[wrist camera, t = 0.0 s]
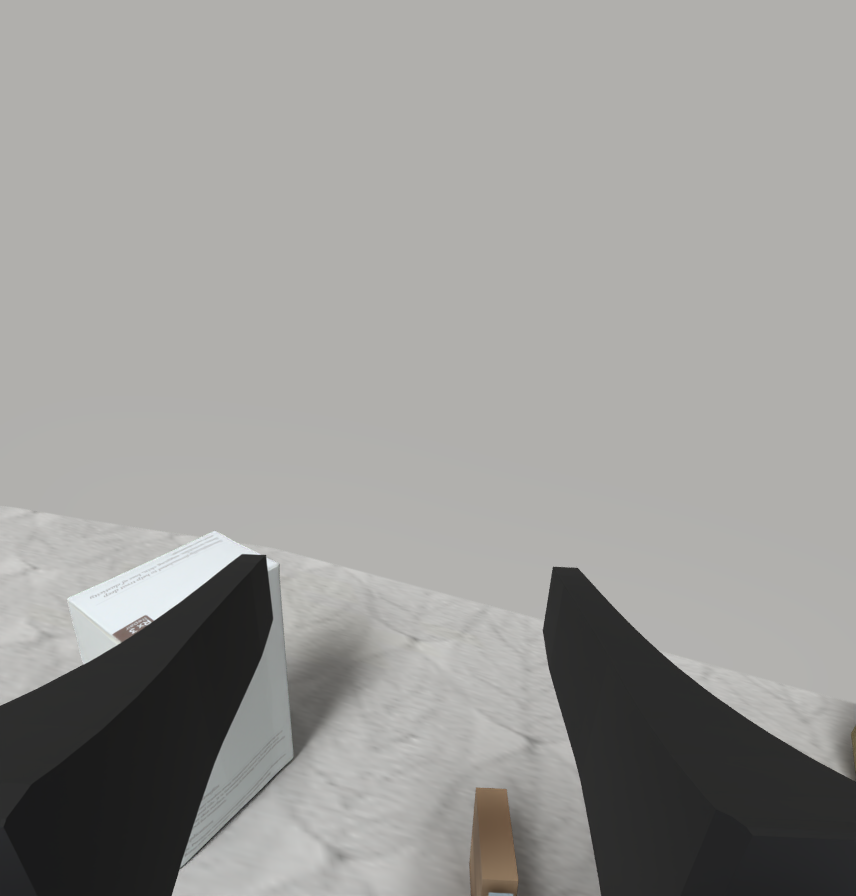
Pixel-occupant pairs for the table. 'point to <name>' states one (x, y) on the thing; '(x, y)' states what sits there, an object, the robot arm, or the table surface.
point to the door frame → (492, 845)
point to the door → (500, 894)
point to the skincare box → (266, 700)
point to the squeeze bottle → (854, 744)
